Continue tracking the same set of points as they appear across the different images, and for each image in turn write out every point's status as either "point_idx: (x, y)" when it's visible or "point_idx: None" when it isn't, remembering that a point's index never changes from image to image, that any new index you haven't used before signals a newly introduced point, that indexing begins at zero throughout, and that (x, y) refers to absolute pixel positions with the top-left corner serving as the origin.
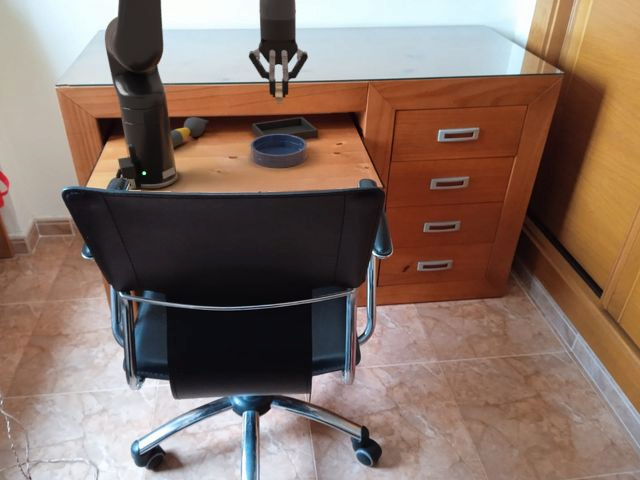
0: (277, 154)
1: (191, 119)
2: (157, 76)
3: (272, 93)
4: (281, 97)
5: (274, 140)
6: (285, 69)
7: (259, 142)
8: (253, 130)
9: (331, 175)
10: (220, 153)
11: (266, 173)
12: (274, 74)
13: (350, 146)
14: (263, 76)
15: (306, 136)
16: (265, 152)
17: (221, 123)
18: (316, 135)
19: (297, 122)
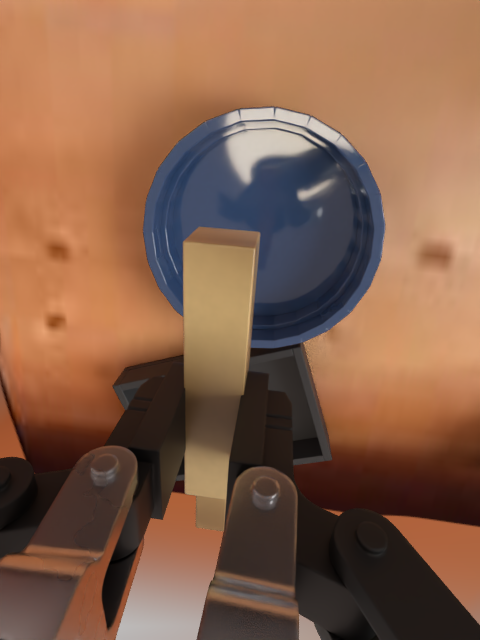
0: (266, 249)
1: None
2: None
3: (268, 397)
4: (195, 239)
5: (268, 329)
6: (34, 570)
7: (329, 308)
8: (327, 436)
9: (64, 35)
10: (474, 298)
11: (329, 80)
12: (225, 533)
13: (18, 300)
14: (372, 525)
15: (155, 367)
16: (308, 271)
17: (413, 509)
18: (124, 373)
19: (182, 464)
